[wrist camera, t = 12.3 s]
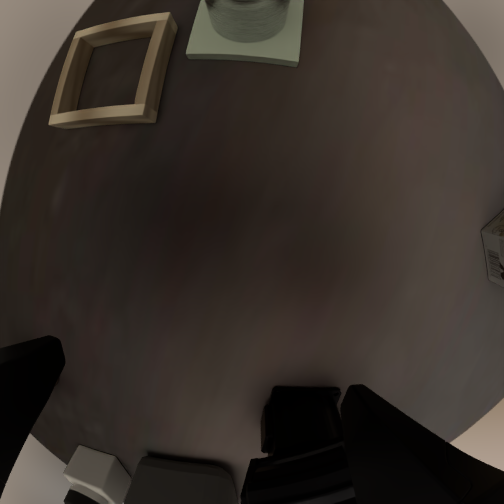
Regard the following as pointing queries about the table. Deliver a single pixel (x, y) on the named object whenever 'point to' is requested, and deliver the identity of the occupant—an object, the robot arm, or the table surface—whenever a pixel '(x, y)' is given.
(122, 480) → the medicine bottle
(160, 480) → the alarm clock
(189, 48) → the green pad
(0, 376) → the robot arm
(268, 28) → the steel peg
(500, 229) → the coffee box
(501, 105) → the table surface
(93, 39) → the wooden square frame
